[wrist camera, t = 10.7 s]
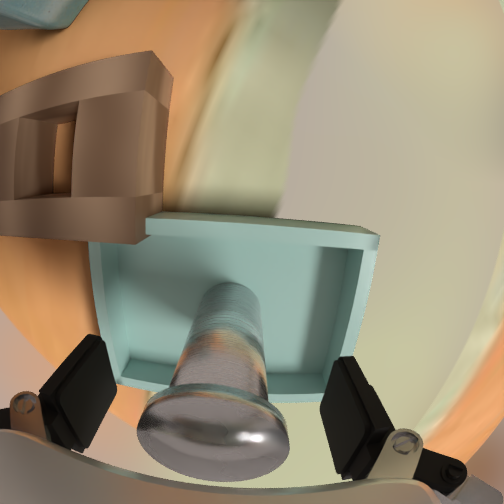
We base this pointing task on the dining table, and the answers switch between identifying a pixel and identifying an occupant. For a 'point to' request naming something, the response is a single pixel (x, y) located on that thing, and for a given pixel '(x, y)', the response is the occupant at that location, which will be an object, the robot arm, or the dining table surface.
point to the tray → (242, 272)
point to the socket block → (87, 151)
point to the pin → (218, 397)
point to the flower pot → (38, 13)
